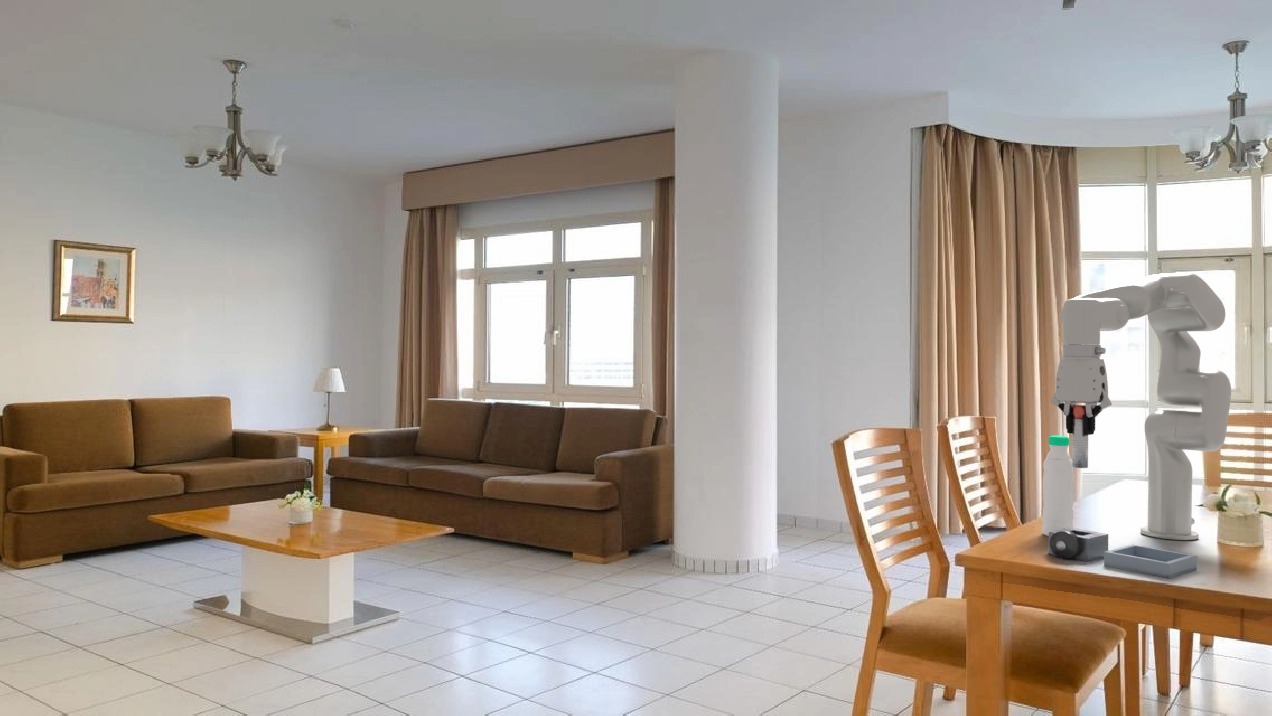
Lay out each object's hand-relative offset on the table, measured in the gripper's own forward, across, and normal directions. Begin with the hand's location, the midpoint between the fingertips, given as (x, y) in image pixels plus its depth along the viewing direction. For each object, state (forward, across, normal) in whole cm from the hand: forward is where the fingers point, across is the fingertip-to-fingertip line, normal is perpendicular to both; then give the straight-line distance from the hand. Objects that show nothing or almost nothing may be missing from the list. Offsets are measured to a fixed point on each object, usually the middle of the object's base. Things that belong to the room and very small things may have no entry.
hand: (1080, 433), depth 203 cm
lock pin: (+8, 0, 0) cm, 8 cm away
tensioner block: (+28, 0, +2) cm, 28 cm away
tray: (+28, -15, 0) cm, 32 cm away
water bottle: (+28, +14, -16) cm, 35 cm away
